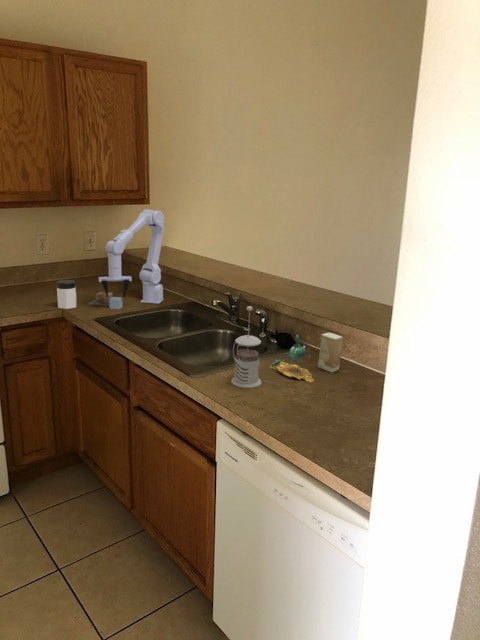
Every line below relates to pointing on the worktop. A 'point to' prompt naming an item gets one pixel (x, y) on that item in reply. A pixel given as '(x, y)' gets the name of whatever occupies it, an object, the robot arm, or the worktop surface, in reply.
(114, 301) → the blue cube
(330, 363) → the skincare box
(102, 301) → the tan cardboard box
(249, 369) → the french press
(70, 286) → the jar
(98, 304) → the mat
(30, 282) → the worktop surface
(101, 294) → the slab upper
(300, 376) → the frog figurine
